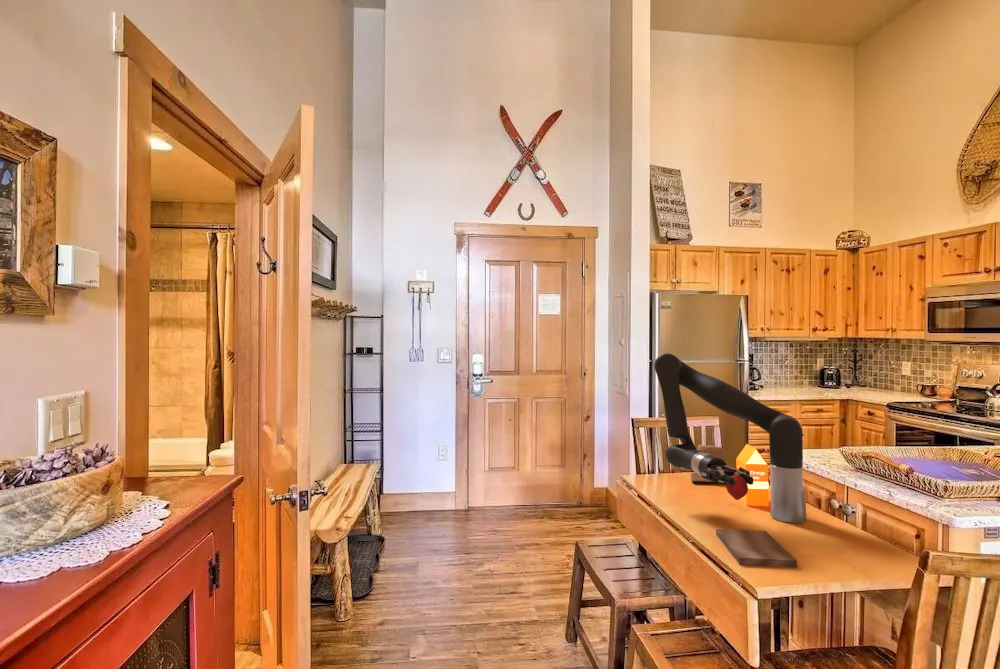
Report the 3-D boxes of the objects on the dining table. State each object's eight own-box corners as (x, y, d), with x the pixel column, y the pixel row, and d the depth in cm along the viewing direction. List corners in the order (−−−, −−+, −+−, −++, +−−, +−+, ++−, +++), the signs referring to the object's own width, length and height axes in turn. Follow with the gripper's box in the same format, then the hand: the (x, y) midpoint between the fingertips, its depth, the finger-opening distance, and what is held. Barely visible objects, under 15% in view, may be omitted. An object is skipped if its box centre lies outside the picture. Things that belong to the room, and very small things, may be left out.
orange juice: (758, 498, 180) (757, 443, 181) (769, 506, 172) (768, 449, 172) (736, 497, 181) (735, 443, 182) (745, 505, 172) (745, 448, 173)
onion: (729, 495, 147) (729, 468, 147) (750, 499, 143) (750, 471, 143) (723, 500, 142) (723, 472, 142) (745, 504, 138) (744, 476, 138)
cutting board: (765, 536, 145) (765, 530, 145) (797, 567, 125) (797, 560, 125) (716, 534, 147) (715, 528, 147) (739, 564, 127) (739, 557, 127)
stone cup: (721, 477, 208) (720, 442, 209) (731, 485, 197) (730, 448, 197) (684, 476, 210) (684, 441, 210) (692, 484, 198) (691, 447, 199)
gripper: (687, 455, 155) (719, 469, 139) (728, 453, 158) (765, 467, 141) (687, 479, 155) (720, 496, 139) (728, 477, 158) (765, 493, 141)
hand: (742, 481), depth 140 cm, fingers closed on onion, 5 cm apart
